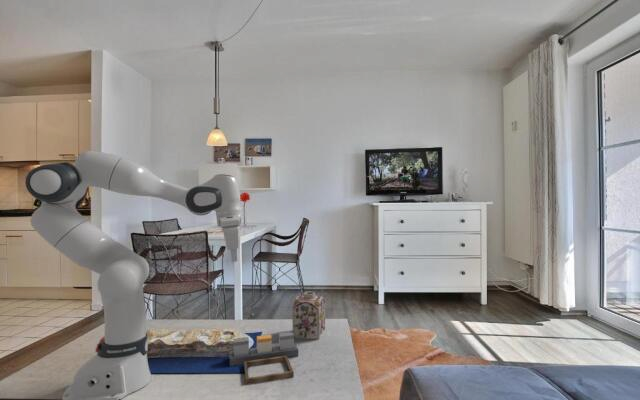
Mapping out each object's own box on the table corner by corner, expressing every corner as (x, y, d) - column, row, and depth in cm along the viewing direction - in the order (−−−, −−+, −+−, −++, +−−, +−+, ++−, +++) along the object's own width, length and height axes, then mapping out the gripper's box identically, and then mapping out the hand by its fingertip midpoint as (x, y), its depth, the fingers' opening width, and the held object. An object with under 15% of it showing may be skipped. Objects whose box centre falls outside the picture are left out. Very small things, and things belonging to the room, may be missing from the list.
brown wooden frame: (246, 387, 97) (246, 379, 97) (243, 369, 108) (243, 361, 108) (293, 380, 101) (293, 372, 101) (286, 362, 112) (286, 355, 112)
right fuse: (280, 357, 114) (280, 336, 114) (278, 353, 117) (278, 333, 117) (294, 355, 116) (293, 335, 116) (292, 351, 119) (292, 332, 119)
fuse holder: (230, 369, 108) (230, 358, 108) (229, 361, 113) (229, 351, 113) (298, 359, 115) (298, 349, 115) (294, 352, 120) (294, 342, 120)
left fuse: (233, 363, 110) (233, 342, 110) (233, 359, 112) (233, 339, 113) (248, 361, 111) (248, 340, 111) (248, 357, 114) (248, 337, 114)
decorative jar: (325, 331, 140) (325, 290, 141) (319, 342, 129) (319, 297, 129) (299, 328, 143) (299, 288, 143) (291, 339, 132) (291, 295, 132)
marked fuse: (257, 360, 112) (257, 339, 112) (256, 356, 115) (256, 336, 115) (271, 358, 113) (271, 337, 113) (270, 354, 116) (270, 334, 116)
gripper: (221, 220, 121) (225, 257, 121) (219, 222, 102) (224, 265, 102) (238, 218, 123) (242, 254, 123) (240, 219, 103) (245, 262, 103)
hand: (234, 259), depth 112 cm, fingers open, 8 cm apart
